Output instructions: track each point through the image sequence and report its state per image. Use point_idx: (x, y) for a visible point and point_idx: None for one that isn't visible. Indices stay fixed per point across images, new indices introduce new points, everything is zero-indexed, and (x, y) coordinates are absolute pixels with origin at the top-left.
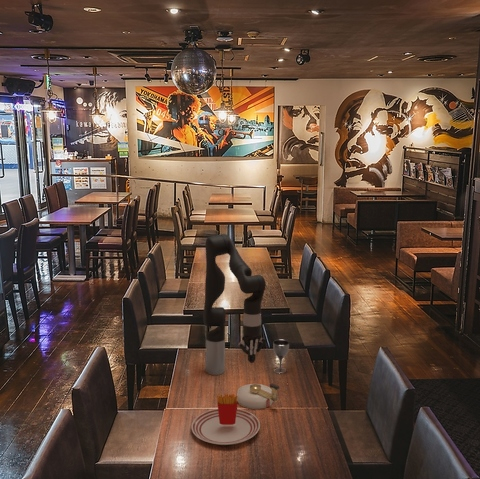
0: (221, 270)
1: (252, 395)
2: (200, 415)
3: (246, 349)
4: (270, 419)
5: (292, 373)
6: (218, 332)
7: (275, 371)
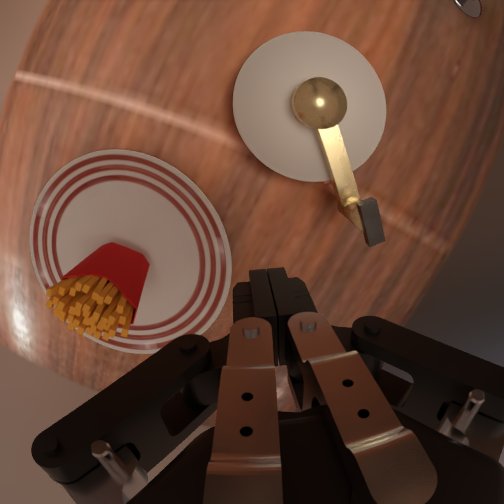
0: None
1: (287, 127)
2: (59, 174)
3: (181, 440)
4: (286, 252)
5: (487, 34)
6: None
7: None
